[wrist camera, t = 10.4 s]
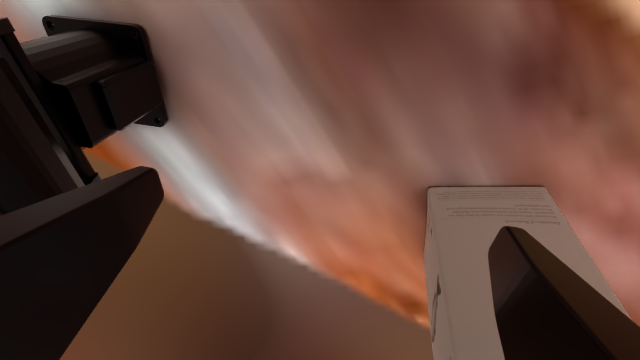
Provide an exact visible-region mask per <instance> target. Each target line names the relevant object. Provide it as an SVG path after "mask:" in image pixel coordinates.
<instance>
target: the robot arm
mask: <svg viewBox="0 0 640 360" xmlns="http://www.w3.org/2000/svg"><path fill="white" fill-rule="evenodd" d="M42 22H43V26H44V28H45V30H46V32H47V35H48V37H44V38H40V39H36V40H31V41H27V42H23V43H19V41H18V40H17V38H16V36H15V35H14V33H13V32H14V31H15V30H14V28H13V26H12V25H11V23H10V21H9V19H8V18H0V360H60V358H61V357H62V355H63V354H64V352H65V351H66V349H67V348H68V347H69V345H70V344H71V342H72V341H73V339H74V338H75V336H76V335H77V334H78V332H79V331H80V329H81V328H82V326H83V325H84V323H85V322H86V320H87V319H88V317H89V316H90V315H91V313H92V312H93V310H94V309H95V307H96V306H97V304H98V303H99V302H100V300H101V299H102V297H103V296H104V294H105V293H106V291H107V290H108V288H109V287H110V286H111V284H112V283H113V281H114V280H115V278H116V277H117V275H118V274H119V273H120V271H121V270H122V268H123V267H124V265H125V264H126V262H127V261H128V259H129V258H130V257H131V255H132V254H133V252H134V251H135V249H136V248H137V246H138V244H139V242H140V241H141V239H142V237H143V235H144V234H145V232H146V230H147V228H148V226H149V224H150V223H151V221H152V219H153V217H154V215H155V213H156V211H157V210H158V208H159V206H160V204H161V203H162V200H163V197H164V191H163V187H162V184H161V181H160V178H159V175H158V172H157V171H156V170H155V169H154V168H149V167H143V166H139V167H136V168H133V169H130V170H127V171H124V172H122V173H119V174H116V175H113V176H110V177H108V178H105V179H102V180H101V178H100V176H99V174H98V173H96V172H95V171H94V170H93V168H92V166H91V164H90V163H89V161H88V159H87V157H86V156H85V154H84V152H83V151H82V150H83V149H85V148H86V147H87V148H92V147H94V146H95V145H97V144H99V143H100V142H102V141H103V140H105V139H106V138H108V137H109V136H111V135H112V134H114V133H116V132H117V131H119V130H120V131H121V130H123V129H125V128H126V127H128V126H129V125H131V124H132V123H135V124H142V125H149V126H155V127H162V126H164V125H165V124H166V123H167V122H168V121H167V116H166V112H165V108H164V104H163V99H162V95H161V91H160V87H159V84H158V80H157V76H156V72H155V68H154V65H153V61H152V57H151V53H150V49H149V45H148V42H147V38H146V34H145V32H144V30H143V29H142V27H140V26H139V25H136V24H129V23H120V22H111V21H102V20H93V19H83V18H74V17H65V16H56V15H50V16H44V17H43V18H42ZM52 23H53V24H52ZM53 25H54V26H53ZM134 31H135V32H136V33H137V35H138V37H136V36H135V34H134ZM157 117H158V118H159V119H160V120H161V121H160V120H158V118H157ZM488 263H489V272H490V281H491V289H492V298H493V307H494V314H495V319H496V324H497V328H498V333H499V337H500V341H501V345H502V350H503V354H504V358H505V360H640V326H638V325H637V324H636V323H635V322H634V321H632V320H631V319H630V318H629V317H628V316H626V315H625V314H624V313H623V312H622V311H621V310H619V309H618V308H617V307H616V306H615V305H613V304H612V303H611V302H610V301H609V300H607V299H606V298H605V297H604V296H603V295H601V294H600V293H599V292H598V291H597V290H596V289H594V288H593V287H592V286H591V285H590V284H588V283H587V282H586V281H585V280H584V279H582V278H581V277H580V276H579V275H578V274H577V273H575V272H574V271H573V270H572V269H571V268H569V267H568V266H567V265H566V264H565V263H563V262H562V261H561V260H560V259H559V258H558V257H556V256H555V255H554V254H553V253H552V252H550V251H549V250H548V249H547V248H546V247H544V246H543V245H542V244H541V243H540V242H539V241H537V240H536V239H535V238H534V237H533V236H531V235H530V234H529V233H528V232H527V231H525V230H524V229H522V228H518V227H512V226H503V227H502V228H501V229H500V230H499V232H498V234H497V235H496V237H495V239H494V241H493V242H492V244H491V246H490V248H489V251H488Z"/></svg>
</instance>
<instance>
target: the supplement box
mask: <svg viewBox="0 0 640 360" xmlns="http://www.w3.org/2000/svg"><path fill="white" fill-rule="evenodd" d="M427 201H428V202H427V225H426V237H425V247H424V254H423V260H424V269H425V280H426V290H427V300H428V310H429V319H430V329H431V338H432V347H433V355H434V360H505V358H504V354H503V350H502V345H501V341H500V337H499V333H498V328H497V324H496V319H495V314H494V307H493V298H492V289H491V281H490V272H489V263H488V251H489V248H490V246H491V244H492V242H493V241H494V239H495V237H496V235H497V234H498V232H499V230H500V229H501V228H502V227H503V226H512V227H518V228H522V229H524V230H525V231H527V232H528V233H529V234H530V235H531V236H533V237H534V238H535V239H536V240H537V241H539V242H540V243H541V244H542V245H543V246H544V247H546V248H547V249H548V250H549V251H550V252H552V253H553V254H554V255H555V256H556V257H558V258H559V259H560V260H561V261H562V262H563V263H565V264H566V265H567V266H568V267H569V268H571V269H572V270H573V271H574V272H575V273H577V274H578V275H579V276H580V277H581V278H582V279H584V280H585V281H586V282H587V283H588V284H590V285H591V286H592V287H593V288H594V289H596V290H597V291H598V292H599V293H600V294H601V295H603V296H604V297H605V298H606V299H607V300H609V301H610V302H611V303H612V304H613V305H615V306H616V307H617V308H618V309H619V310H621V311H622V312H623V313H624V314H625V315H626V316H628V317H629V318H630V316H629V315H628V313H627V312H626V310H625V309H624V307H623V306H622V304H621V303H620V301H619V300H618V298H617V297H616V295H615V293H614V292H613V290H612V289H611V287H610V286H609V284H608V283H607V281H606V280H605V278H604V277H603V275H602V274H601V272H600V270H599V269H598V267H597V266H596V264H595V263H594V261H593V260H592V258H591V257H590V255H589V254H588V252H587V251H586V249H585V248H584V246H583V245H582V243H581V242H580V240H579V238H578V237H577V235H576V234H575V232H574V231H573V229H572V228H571V226H570V225H569V223H568V222H567V220H566V219H565V217H564V216H563V214H562V212H561V211H560V209H559V208H558V206H557V205H556V203H555V202H554V200H553V199H552V197H551V196H550V194H549V193H548V191H547V189H546V188H545V187H432V188H429V189H428V190H427ZM630 319H631V318H630ZM631 320H632V319H631Z"/></svg>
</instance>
